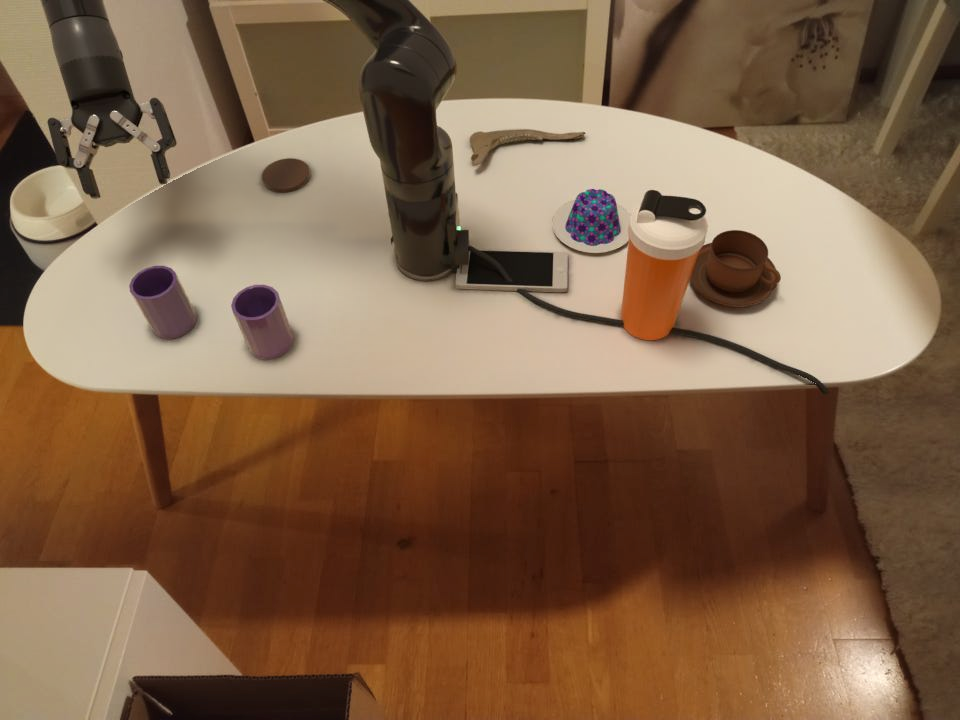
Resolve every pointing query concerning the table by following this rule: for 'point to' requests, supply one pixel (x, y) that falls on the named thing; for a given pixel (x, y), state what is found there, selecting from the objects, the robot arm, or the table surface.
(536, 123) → the table surface
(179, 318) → the cup
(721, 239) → the cup and saucer
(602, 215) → the pudding
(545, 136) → the jawbone
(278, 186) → the coaster
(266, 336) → the cup
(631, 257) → the shaker bottle
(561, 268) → the smartphone
